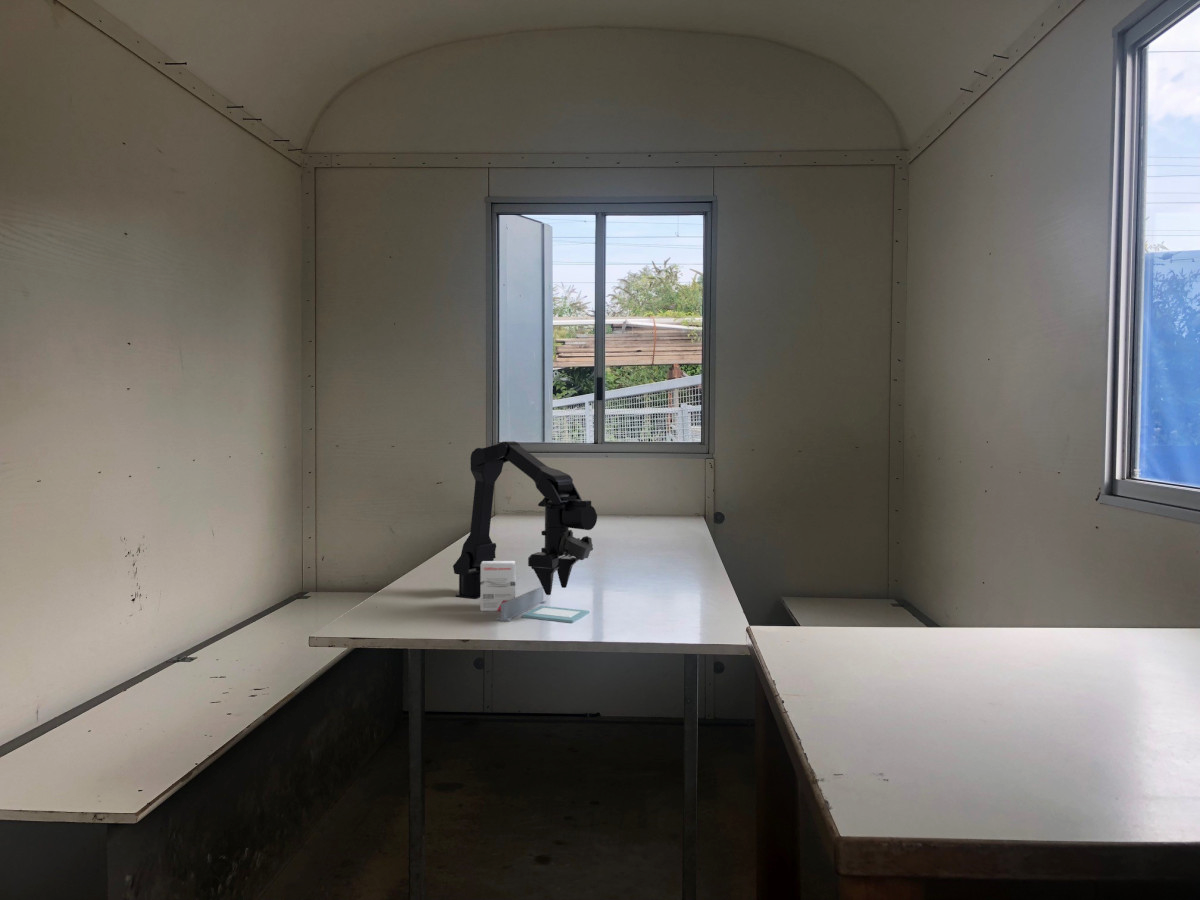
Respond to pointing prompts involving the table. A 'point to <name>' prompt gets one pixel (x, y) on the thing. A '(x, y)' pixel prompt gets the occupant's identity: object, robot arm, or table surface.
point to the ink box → (496, 584)
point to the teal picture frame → (556, 614)
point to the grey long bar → (521, 604)
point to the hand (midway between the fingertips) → (556, 591)
